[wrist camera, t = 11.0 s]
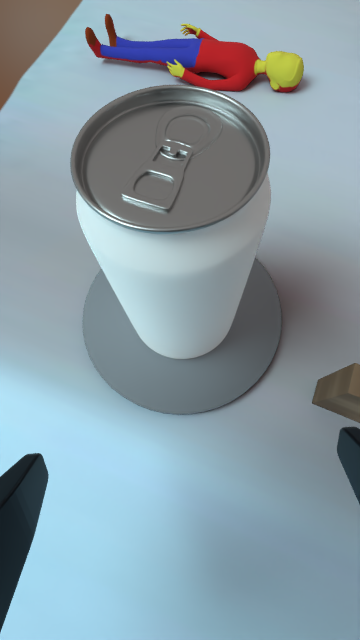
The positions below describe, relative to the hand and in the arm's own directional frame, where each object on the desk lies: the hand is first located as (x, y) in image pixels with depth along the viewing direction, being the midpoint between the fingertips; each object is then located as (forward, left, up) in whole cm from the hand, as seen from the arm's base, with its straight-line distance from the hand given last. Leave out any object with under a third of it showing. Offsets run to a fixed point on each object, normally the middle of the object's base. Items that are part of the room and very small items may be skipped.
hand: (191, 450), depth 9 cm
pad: (+7, -4, -9) cm, 12 cm away
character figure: (+27, -20, -9) cm, 35 cm away
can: (+7, -4, -8) cm, 12 cm away
